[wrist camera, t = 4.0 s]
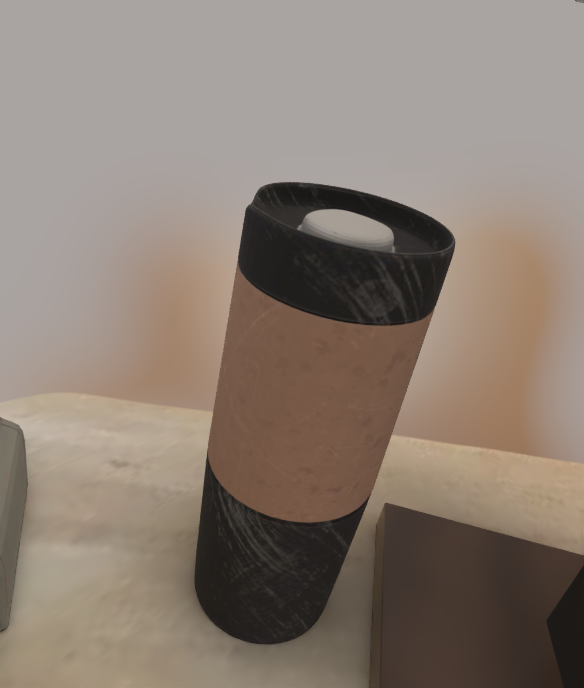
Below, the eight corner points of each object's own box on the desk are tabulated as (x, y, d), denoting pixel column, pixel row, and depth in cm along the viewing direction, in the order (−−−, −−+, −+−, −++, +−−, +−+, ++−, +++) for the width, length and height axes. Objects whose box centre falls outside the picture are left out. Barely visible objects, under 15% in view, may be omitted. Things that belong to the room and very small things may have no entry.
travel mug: (361, 601, 29) (503, 245, 19) (243, 683, 24) (352, 267, 15) (274, 505, 34) (353, 180, 24) (161, 558, 29) (202, 180, 19)
